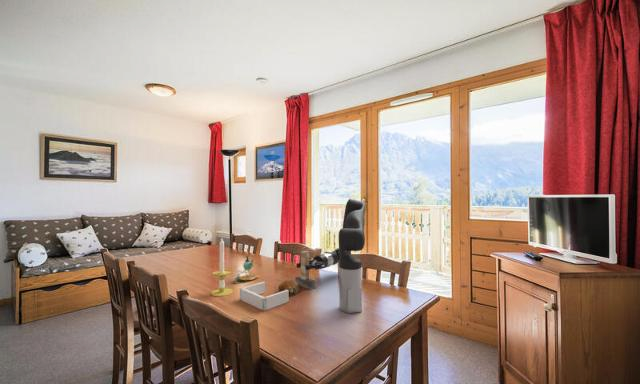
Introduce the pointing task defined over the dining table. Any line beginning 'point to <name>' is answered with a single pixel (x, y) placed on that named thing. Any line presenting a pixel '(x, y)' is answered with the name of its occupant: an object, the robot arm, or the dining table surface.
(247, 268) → the frog figurine
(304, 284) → the scraper
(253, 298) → the box
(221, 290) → the candle
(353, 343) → the dining table surface
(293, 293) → the bread roll
